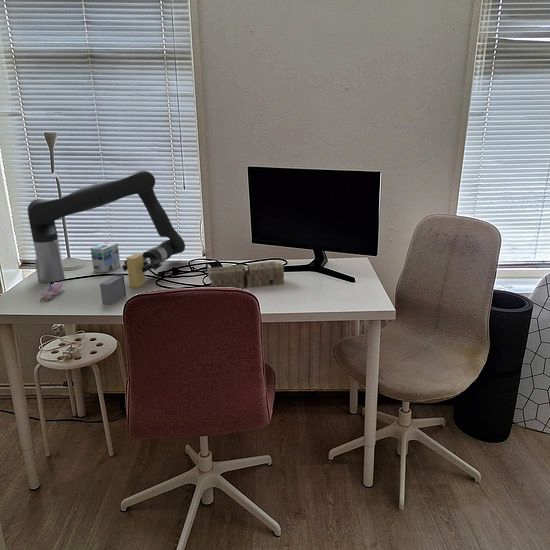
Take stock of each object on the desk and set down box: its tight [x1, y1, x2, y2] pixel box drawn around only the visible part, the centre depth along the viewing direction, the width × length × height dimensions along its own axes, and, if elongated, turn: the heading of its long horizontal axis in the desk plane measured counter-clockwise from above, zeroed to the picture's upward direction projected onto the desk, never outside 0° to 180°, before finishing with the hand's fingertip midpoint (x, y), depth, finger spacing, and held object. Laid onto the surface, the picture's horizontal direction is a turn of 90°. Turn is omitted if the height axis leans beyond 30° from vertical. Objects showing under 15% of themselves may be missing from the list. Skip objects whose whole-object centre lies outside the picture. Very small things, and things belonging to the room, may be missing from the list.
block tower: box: [206, 261, 285, 290], centre depth 194 cm, size 8×8×29 cm
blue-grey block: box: [99, 273, 127, 306], centre depth 181 cm, size 10×4×8 cm, turn 163°
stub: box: [126, 253, 147, 289], centre depth 195 cm, size 6×4×12 cm, turn 163°
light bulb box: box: [90, 241, 121, 273], centre depth 216 cm, size 11×7×11 cm, turn 160°
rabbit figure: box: [39, 281, 65, 303], centre depth 187 cm, size 6×6×15 cm
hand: (133, 269), depth 193 cm, fingers open, 8 cm apart
